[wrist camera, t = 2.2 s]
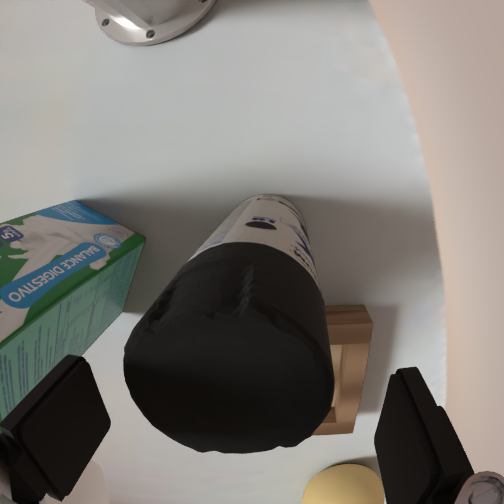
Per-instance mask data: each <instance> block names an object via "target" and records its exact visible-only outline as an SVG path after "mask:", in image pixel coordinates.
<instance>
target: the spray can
mask: <svg viewBox="0 0 504 504" xmlns="http://www.w3.org/2000/svg"><path fill="white" fill-rule="evenodd" d="M124 352H125V354H124V358H123V367H124V377H125V382H126V384H127V387H128V389H129V391H130V395H131V398H132V399H133V401H134V402H135V404H136V405H137V406H138V408H139V409H140V411H141V412H142V414H143V415H144V416H145V417H146V419H147V420H148V421H149V422H150V423H151V424H152V425H153V426H154V427H155V428H157V429H158V430H159V431H161V432H162V433H164V434H165V435H167V436H168V437H170V438H171V439H173V440H175V441H177V442H178V443H180V444H182V445H184V446H187V447H190V448H192V449H194V450H196V451H198V452H202V453H204V452H209V451H218V452H221V453H238V454H246V453H253V452H262V451H268V450H272V449H274V448H276V447H278V446H281V447H285V448H287V447H295V446H297V445H298V444H299V443H301V442H302V441H304V440H305V439H307V438H309V437H311V435H312V434H313V433H314V431H315V430H316V429H317V428H318V427H319V426H320V425H321V424H322V422H323V421H324V419H325V418H326V416H327V415H328V413H329V412H330V410H331V406H332V402H333V397H334V389H335V377H334V370H333V363H332V355H331V349H330V342H329V335H328V328H327V322H326V316H325V306H324V300H323V298H322V295H321V290H320V285H319V282H318V277H317V273H316V269H315V264H314V260H313V256H312V252H311V248H310V244H309V239H308V235H307V231H306V227H305V224H304V221H303V218H302V216H301V214H300V213H299V211H298V210H297V209H296V208H295V207H294V206H293V205H292V204H291V203H290V202H289V201H287V200H285V199H284V198H282V197H280V196H276V195H267V194H265V195H257V196H253V197H251V198H248V199H246V200H245V201H243V202H242V203H240V204H239V205H238V206H237V207H236V208H235V209H234V210H233V211H232V212H231V213H230V215H229V216H228V217H227V218H226V219H225V220H224V221H223V222H222V223H221V224H220V226H219V227H218V228H217V229H216V230H215V231H214V232H213V233H212V234H211V235H210V237H209V238H208V239H207V240H206V241H205V242H204V243H203V244H202V245H201V247H200V248H199V249H198V250H197V251H196V252H195V253H194V255H193V256H192V257H191V258H190V259H189V260H188V261H187V262H186V263H185V265H184V266H183V267H182V268H181V269H180V271H179V272H178V273H177V275H176V276H175V277H174V278H173V280H172V281H171V282H170V283H169V285H168V286H167V287H166V288H165V290H164V291H163V292H162V293H161V295H160V296H159V297H158V298H157V299H156V301H155V302H154V303H153V305H152V306H151V307H150V309H149V310H148V311H147V312H146V314H145V315H144V316H143V317H142V318H141V320H140V321H139V322H138V323H137V324H136V326H135V327H134V328H133V330H132V332H131V335H130V337H129V339H128V341H127V343H126V345H125V347H124Z"/></svg>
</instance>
